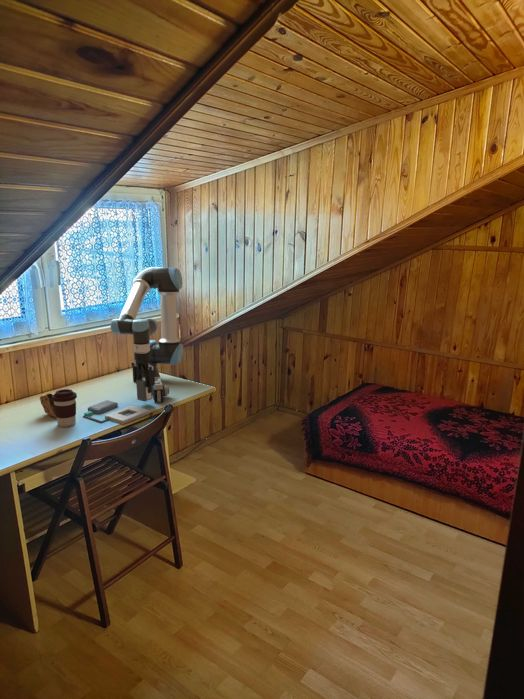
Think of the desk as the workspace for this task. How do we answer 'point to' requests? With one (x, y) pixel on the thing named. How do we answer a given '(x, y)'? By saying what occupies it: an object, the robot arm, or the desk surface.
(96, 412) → the flat grey block
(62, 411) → the coffee cup
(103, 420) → the cable
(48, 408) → the decorative rock
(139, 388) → the charger block
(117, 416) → the outlet plate
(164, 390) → the camera
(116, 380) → the desk surface
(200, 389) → the desk surface
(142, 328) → the robot arm
